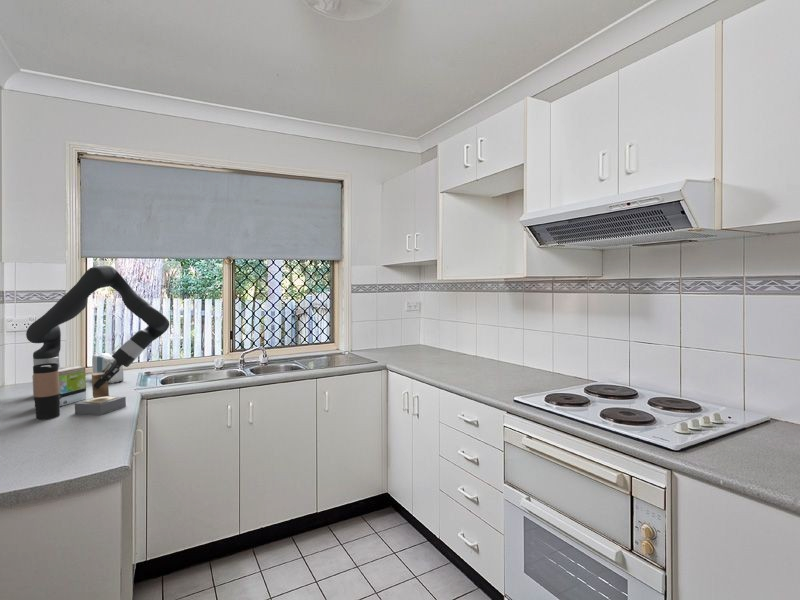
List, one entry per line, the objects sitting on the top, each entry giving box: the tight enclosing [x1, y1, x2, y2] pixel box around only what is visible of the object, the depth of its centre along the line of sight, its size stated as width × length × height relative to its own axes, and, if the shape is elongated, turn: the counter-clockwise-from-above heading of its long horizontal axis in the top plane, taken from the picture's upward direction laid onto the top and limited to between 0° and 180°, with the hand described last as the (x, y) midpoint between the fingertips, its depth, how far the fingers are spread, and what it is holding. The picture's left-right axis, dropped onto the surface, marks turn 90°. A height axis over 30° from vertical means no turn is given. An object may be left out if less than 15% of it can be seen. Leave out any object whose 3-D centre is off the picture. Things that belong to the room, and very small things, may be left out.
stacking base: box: [74, 395, 127, 416], centre depth 180 cm, size 12×12×4 cm
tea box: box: [58, 365, 87, 407], centre depth 190 cm, size 15×10×15 cm
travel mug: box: [32, 363, 61, 421], centre depth 171 cm, size 8×8×20 cm
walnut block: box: [91, 372, 110, 398], centre depth 179 cm, size 5×5×9 cm
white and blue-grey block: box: [91, 342, 125, 384], centre depth 232 cm, size 21×8×20 cm, turn 53°
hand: (94, 386), depth 178 cm, fingers closed on walnut block, 5 cm apart
